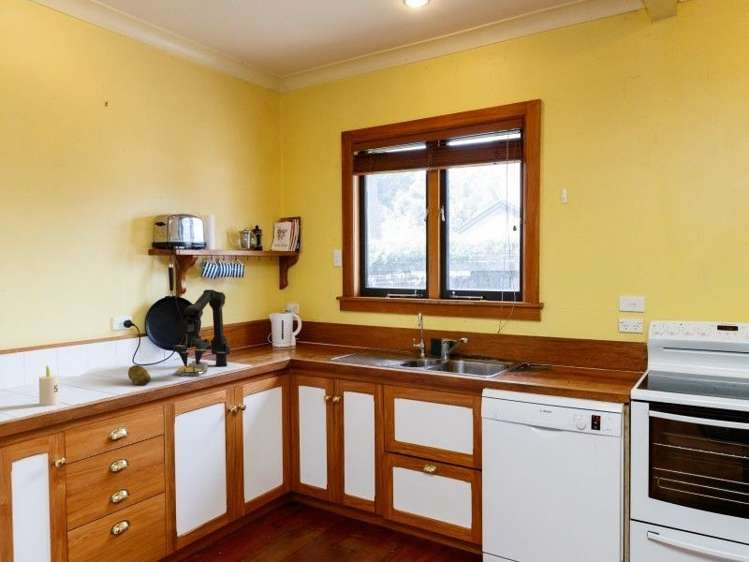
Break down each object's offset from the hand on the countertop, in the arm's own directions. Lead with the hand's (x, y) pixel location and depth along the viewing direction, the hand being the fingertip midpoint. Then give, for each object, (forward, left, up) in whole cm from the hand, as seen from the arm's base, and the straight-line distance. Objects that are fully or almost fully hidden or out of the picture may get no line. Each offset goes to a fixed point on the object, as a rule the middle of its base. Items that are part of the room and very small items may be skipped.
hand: (191, 365), depth 274 cm
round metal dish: (-9, -2, -5) cm, 11 cm away
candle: (+47, -46, -6) cm, 66 cm away
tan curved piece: (-7, +1, -4) cm, 8 cm away
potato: (+13, -21, -6) cm, 25 cm away
